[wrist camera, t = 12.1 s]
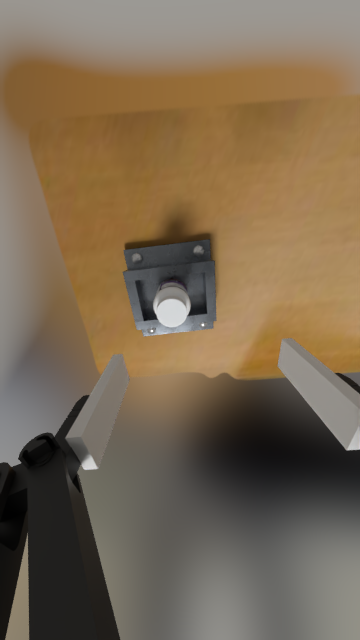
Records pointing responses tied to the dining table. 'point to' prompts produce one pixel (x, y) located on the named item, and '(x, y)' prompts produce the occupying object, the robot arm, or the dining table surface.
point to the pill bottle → (171, 303)
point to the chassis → (171, 263)
